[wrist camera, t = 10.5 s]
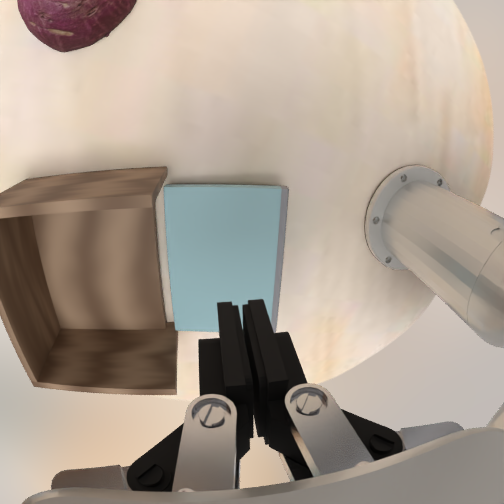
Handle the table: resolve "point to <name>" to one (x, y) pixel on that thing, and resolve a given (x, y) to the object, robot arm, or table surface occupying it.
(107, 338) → the box
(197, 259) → the light blue panel
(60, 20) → the vegetable
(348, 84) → the table surface
